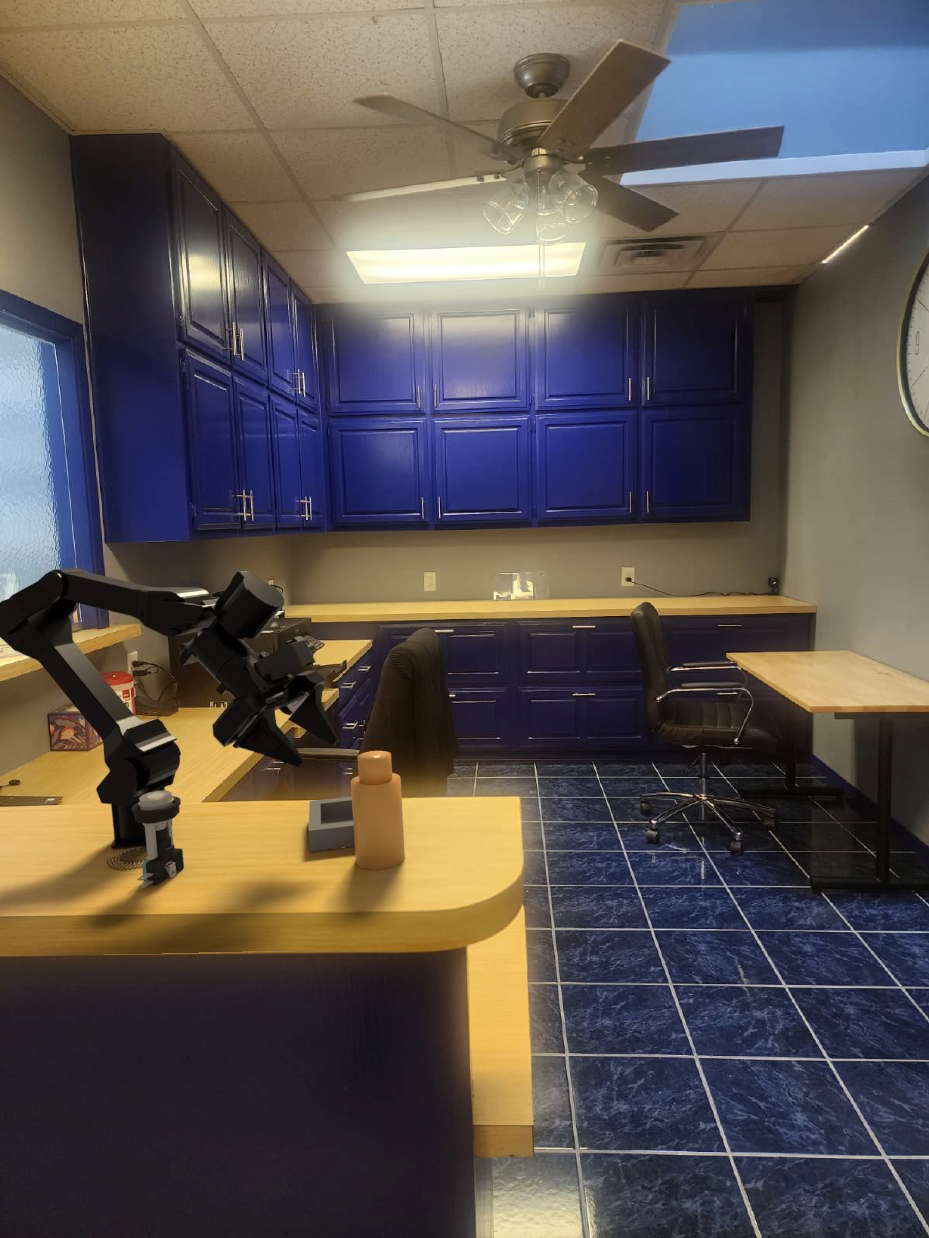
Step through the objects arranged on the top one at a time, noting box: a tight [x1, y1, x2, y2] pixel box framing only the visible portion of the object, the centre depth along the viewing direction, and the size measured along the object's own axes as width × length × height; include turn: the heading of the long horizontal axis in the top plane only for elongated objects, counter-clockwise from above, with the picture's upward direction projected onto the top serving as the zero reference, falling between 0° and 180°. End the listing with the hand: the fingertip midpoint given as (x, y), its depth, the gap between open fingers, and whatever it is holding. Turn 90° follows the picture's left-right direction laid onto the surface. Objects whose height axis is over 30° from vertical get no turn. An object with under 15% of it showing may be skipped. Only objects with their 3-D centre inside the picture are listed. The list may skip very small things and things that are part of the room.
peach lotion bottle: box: [350, 750, 406, 871], centre depth 89 cm, size 6×6×13 cm
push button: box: [132, 790, 185, 889], centre depth 86 cm, size 7×5×10 cm
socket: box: [308, 796, 355, 853], centre depth 98 cm, size 11×11×3 cm
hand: (319, 752), depth 90 cm, fingers open, 9 cm apart
